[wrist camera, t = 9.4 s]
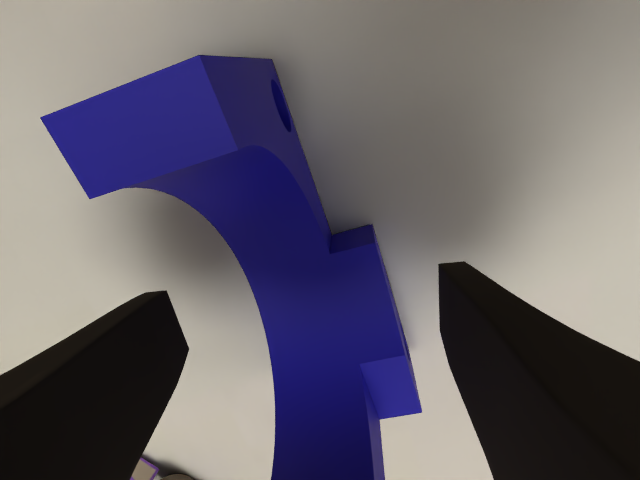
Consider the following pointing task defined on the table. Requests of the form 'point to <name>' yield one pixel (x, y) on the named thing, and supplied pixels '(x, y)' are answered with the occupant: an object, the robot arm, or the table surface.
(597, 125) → the table surface
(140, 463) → the toy race car
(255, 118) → the cable clip
